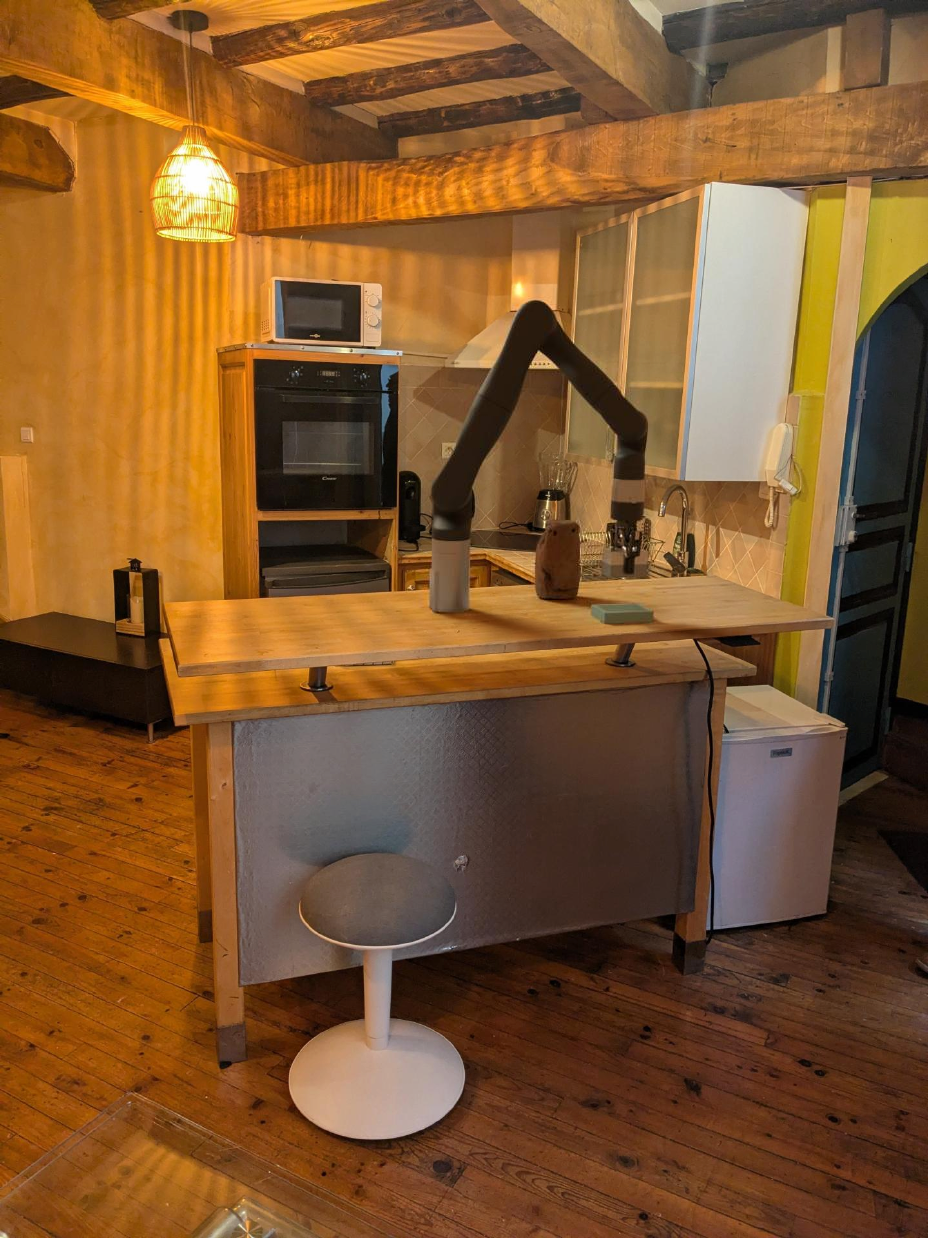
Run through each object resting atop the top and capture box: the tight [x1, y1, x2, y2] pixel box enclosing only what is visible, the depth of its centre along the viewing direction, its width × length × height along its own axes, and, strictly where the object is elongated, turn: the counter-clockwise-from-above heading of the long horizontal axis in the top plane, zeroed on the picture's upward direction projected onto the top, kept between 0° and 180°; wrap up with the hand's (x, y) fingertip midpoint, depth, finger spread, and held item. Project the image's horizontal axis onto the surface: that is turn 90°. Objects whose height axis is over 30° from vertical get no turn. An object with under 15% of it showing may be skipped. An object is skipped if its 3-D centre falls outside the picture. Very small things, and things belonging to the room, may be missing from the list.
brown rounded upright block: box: [534, 519, 581, 600], centre depth 244 cm, size 11×8×20 cm
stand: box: [590, 602, 655, 624], centre depth 223 cm, size 12×9×2 cm
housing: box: [600, 546, 649, 579], centre depth 220 cm, size 9×6×7 cm, turn 103°
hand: (624, 571), depth 221 cm, fingers closed on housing, 5 cm apart
